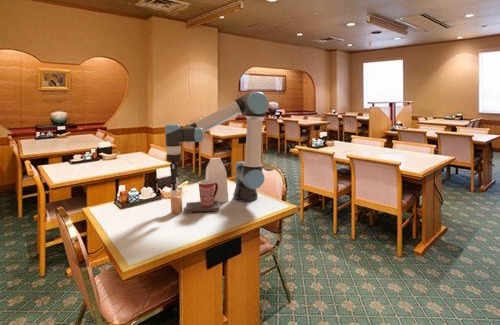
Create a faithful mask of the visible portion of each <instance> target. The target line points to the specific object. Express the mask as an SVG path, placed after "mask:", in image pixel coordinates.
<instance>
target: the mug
mask: <svg viewBox="0 0 500 325" xmlns="http://www.w3.org/2000/svg"><path fill="white" fill-rule="evenodd" d="M197 183H198V190H199V191H198V192H199V199H200V201H199V202H201V206H203V207H210V206H213V205H214V197H215V195H216V193H217V190H218V184H217V183H215V182H214V181H213V180H206V179H204V180H200V181H198V182H197ZM214 185H215V191H214Z"/></svg>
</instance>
